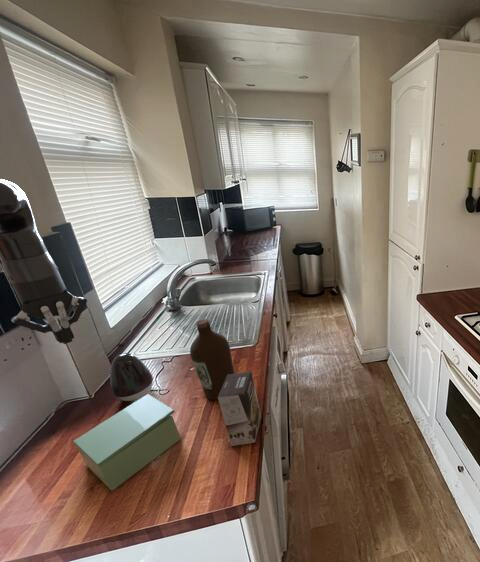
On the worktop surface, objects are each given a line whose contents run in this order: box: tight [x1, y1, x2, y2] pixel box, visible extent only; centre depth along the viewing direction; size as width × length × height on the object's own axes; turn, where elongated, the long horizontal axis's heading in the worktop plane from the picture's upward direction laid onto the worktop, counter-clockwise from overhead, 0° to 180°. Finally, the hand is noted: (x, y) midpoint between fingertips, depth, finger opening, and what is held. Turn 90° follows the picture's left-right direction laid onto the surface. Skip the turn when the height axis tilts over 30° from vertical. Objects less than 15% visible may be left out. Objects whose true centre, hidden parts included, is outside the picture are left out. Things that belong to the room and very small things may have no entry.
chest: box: [74, 414, 182, 492], centre depth 77 cm, size 16×13×8 cm
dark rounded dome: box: [109, 352, 154, 402], centre depth 95 cm, size 10×10×15 cm
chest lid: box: [72, 393, 176, 467], centre depth 75 cm, size 16×13×1 cm
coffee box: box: [217, 370, 262, 447], centre depth 80 cm, size 9×6×16 cm
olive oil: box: [189, 318, 235, 401], centre depth 94 cm, size 11×11×25 cm
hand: (67, 342), depth 74 cm, fingers closed
